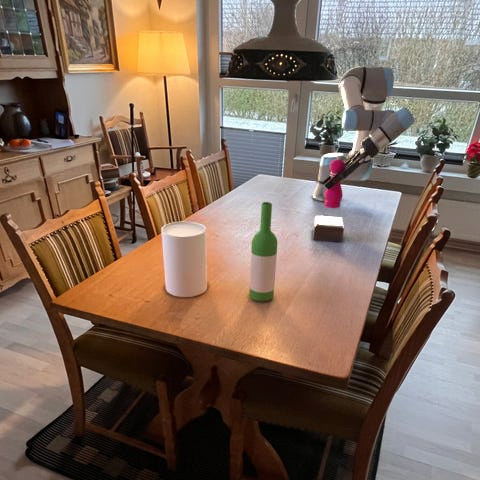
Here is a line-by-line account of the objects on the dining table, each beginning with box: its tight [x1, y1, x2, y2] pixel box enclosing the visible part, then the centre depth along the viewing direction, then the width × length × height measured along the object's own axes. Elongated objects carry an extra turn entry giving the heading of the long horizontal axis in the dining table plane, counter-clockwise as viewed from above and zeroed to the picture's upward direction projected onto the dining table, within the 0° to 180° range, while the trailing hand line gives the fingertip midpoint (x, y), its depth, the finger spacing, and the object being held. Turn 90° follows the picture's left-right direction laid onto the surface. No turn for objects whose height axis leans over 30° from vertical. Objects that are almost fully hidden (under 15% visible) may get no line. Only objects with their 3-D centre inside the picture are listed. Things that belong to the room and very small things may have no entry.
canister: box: [160, 220, 208, 298], centre depth 131 cm, size 14×14×20 cm
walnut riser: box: [312, 215, 345, 243], centre depth 177 cm, size 12×12×7 cm
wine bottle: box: [249, 201, 278, 303], centre depth 124 cm, size 8×8×30 cm
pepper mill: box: [324, 155, 345, 209], centre depth 167 cm, size 7×7×20 cm
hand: (325, 185), depth 168 cm, fingers closed on pepper mill, 5 cm apart
